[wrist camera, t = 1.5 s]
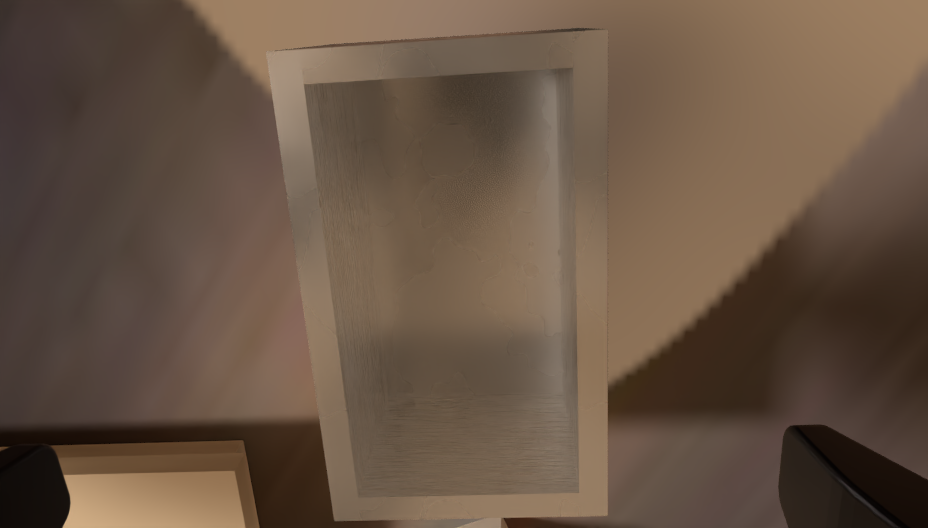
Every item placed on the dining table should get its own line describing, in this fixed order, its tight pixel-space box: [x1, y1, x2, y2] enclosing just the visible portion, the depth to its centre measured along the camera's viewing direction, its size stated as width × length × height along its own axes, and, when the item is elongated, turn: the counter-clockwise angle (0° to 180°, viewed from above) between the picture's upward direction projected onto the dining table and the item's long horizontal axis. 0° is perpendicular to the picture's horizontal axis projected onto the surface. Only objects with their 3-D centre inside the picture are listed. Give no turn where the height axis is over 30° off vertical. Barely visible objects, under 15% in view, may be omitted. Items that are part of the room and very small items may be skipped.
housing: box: [266, 28, 608, 521], centre depth 16 cm, size 10×6×5 cm, turn 4°
